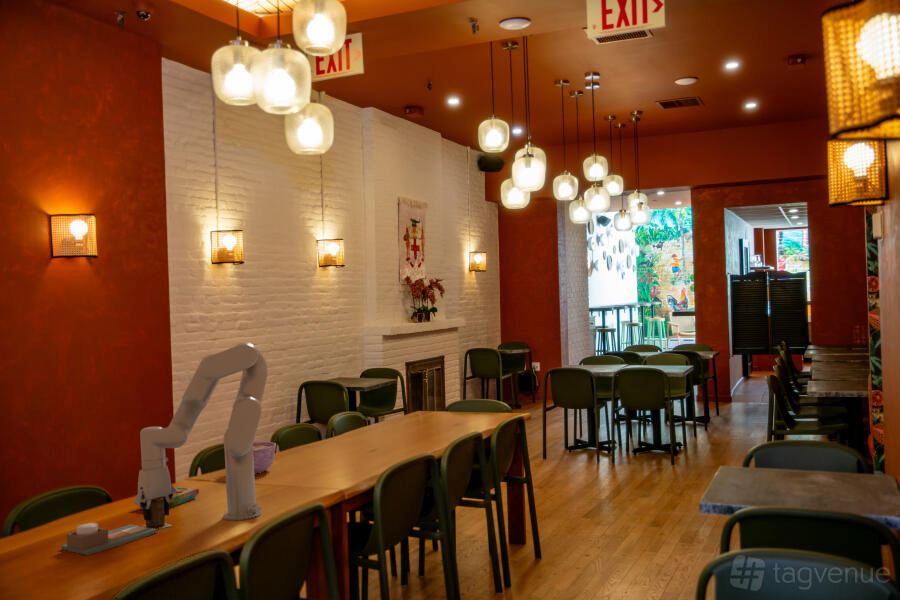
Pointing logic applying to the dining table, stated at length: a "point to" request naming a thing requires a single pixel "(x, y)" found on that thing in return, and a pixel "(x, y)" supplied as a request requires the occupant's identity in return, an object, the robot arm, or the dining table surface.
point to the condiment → (157, 514)
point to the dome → (87, 529)
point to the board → (105, 539)
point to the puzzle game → (182, 495)
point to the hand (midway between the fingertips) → (156, 517)
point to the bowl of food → (263, 455)
